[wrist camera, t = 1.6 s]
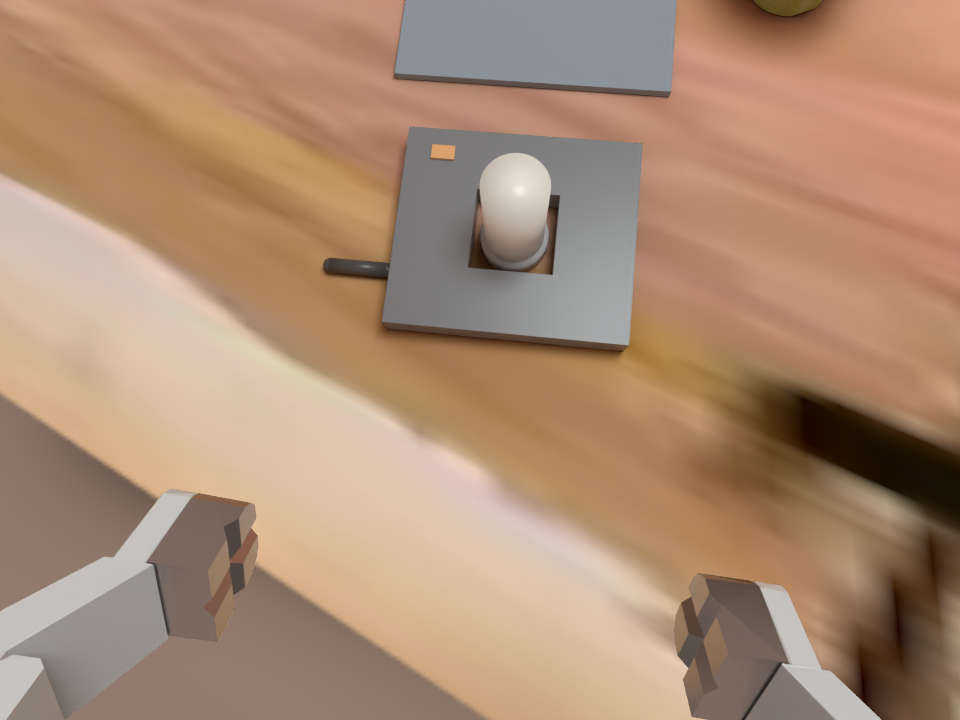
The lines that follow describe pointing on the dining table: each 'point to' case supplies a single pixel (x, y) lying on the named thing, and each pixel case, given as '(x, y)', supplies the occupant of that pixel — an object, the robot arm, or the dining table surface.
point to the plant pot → (787, 6)
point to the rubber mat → (541, 44)
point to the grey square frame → (506, 294)
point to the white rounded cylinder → (514, 212)
